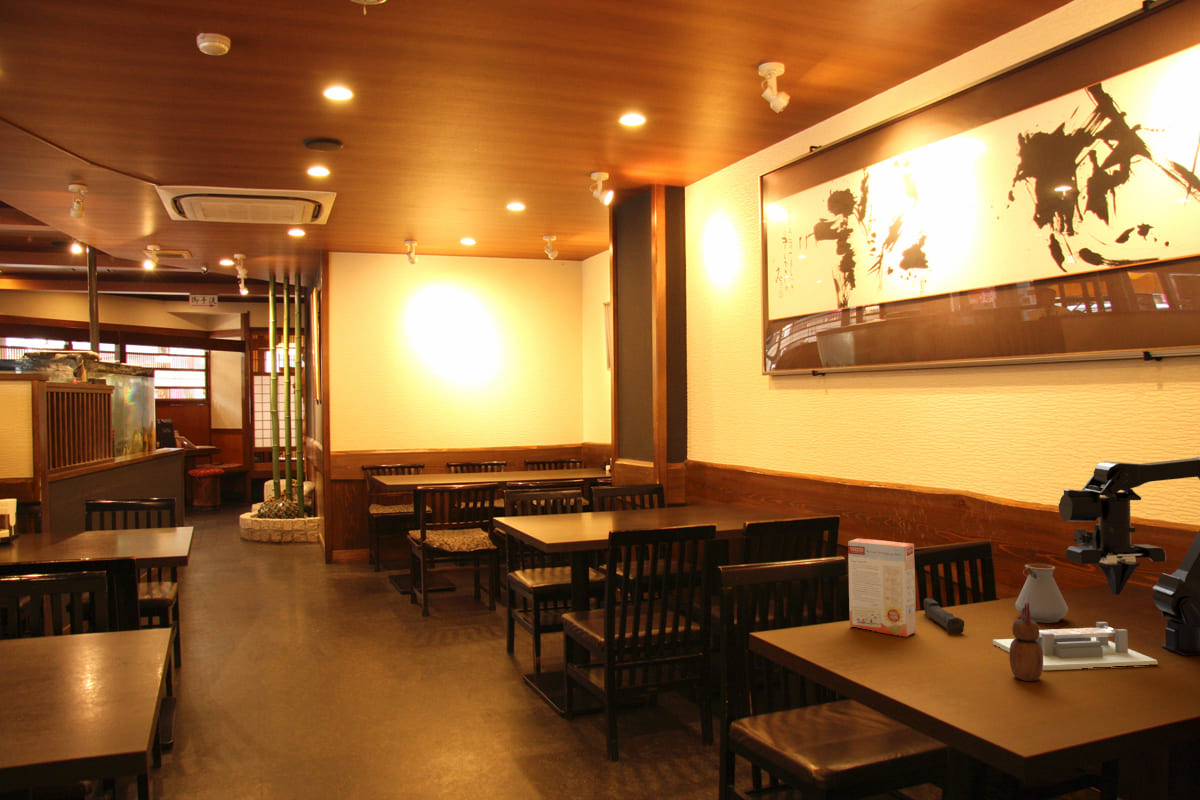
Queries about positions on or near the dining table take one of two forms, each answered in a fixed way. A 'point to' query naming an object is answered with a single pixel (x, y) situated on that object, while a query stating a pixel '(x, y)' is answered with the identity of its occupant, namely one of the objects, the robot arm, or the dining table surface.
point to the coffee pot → (1042, 595)
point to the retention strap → (1080, 632)
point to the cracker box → (882, 586)
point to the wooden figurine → (1026, 648)
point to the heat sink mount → (1085, 651)
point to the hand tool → (943, 617)
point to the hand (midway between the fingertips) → (1116, 594)
